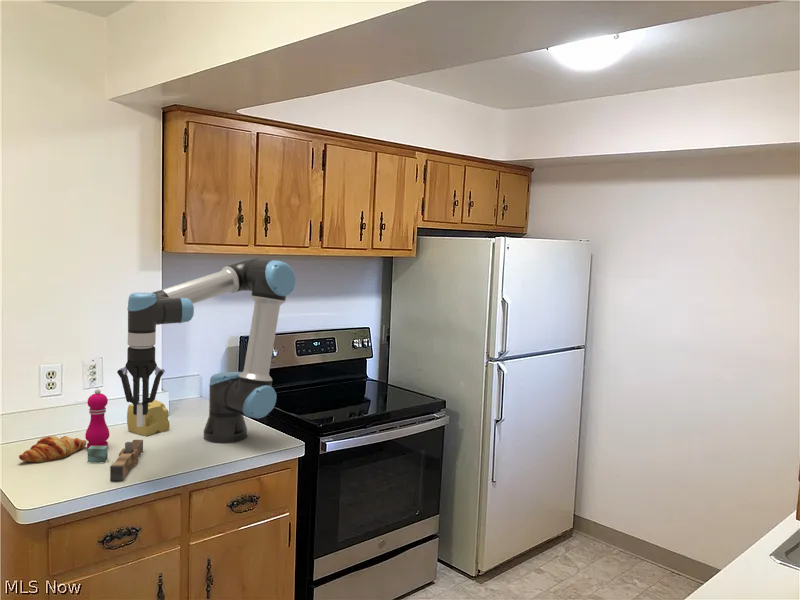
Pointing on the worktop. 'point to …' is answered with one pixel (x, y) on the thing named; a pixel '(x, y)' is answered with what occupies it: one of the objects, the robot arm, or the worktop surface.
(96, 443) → the pepper mill
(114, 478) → the leg
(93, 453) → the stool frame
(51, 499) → the worktop surface
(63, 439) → the croissant
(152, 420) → the cheese
